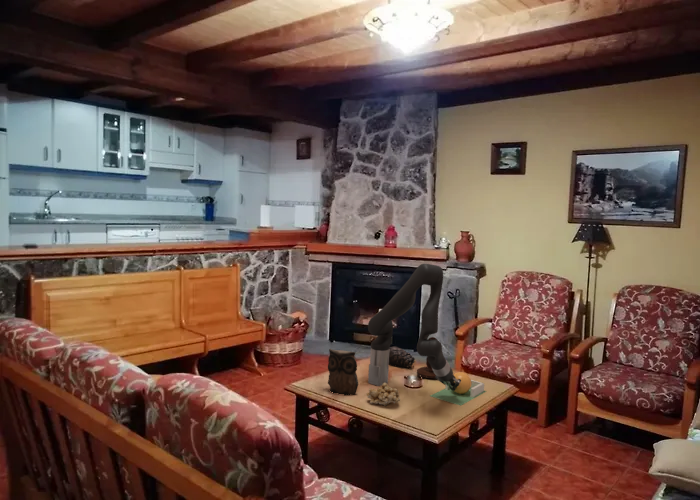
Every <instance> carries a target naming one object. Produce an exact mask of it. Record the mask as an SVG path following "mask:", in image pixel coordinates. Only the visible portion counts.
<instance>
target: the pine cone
mask: <svg viewBox="0 0 700 500" xmlns="http://www.w3.org/2000/svg"><path fill="white" fill-rule="evenodd" d="M415 360H416V358H415V357H414V356H413V355H411V353H410V352H407V351H406V350H405V349H403V348H401V347H398V346H390V350H389V366H391V367H392V366H393V367H395V368H399V369H404V370H413V368H412V367H411V366H413V364H414V363H415V362H416V361H415Z"/></svg>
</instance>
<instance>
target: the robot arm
mask: <svg viewBox="0 0 700 500" xmlns="http://www.w3.org/2000/svg"><path fill="white" fill-rule="evenodd" d="M443 282H444V270H443V268H442V267H441V266H440V265H437V264H431V263H430V264H429V263H421V264H419V265H418V266H417V267H416V269H415V270H414V271H413V272H412V274H411V275H410V277H409V279H408V280H407V281H406V282H405V283H404V284H403V285H402V287H401V288H400V289H398V291H397V292H396V293H395V294H394V295H393V296H392V298H391V299H390V300H389V301H388V302H387V303H386V305H384V306H383V307H382V308H381V309H380V310H379V311H378V312H377V313H376V314H374V315H373V316H372V317H371V318H370V319H369V321H368V324H367V329H368V332H369V333H370V334H371V335H372V336H375V337H376V336H377V337H376V338H375V339H374V340H373V341H371V344H370V356H369V358H370V359H369V364H368V376H367V377H368V378H367V379H368V381H367V383H368V384H370V385H372V386H376V387H379V386H382V384H383V383H387V385H388V383H389V370H390V369H389V366H390V365H389V350H390V348H391V344H392V340H393V332H394V331H393V329H394V327H393V325H394V324H393V320H395V319H398V318H399V317H401V316H403V315H404V314H405V313H406V312H408V311H409V310H410V309H412V307H413V306H414V304H415V302H416V297H417V295H416V294H417V292H418V290H419V289H420V288H421V287H423V286H430V288H429V289H430V293H429V297H428V300H427V302H426V303H425V305H424V307H423V309H422V312H421V324H420V325H421V326H420V327H421V329H420V333H419V338H418V341H417V344H416V351H417V353H418V355H419V356H421V357H426V358H427V359H428V362H429V364H430V365H431V367H432V369H433V371H434V373H435V375H436V377H435V378H434V379H436V380H437V381H439V383H441V384H443V385H447V386H449V388H450V389H451V390H452V391H455V390H456V387H457V386H459V384H460V382H461V380H460V379H456V378H455V376H454V375H453V374H454V372H453V371H454V370H453V369H452V367H451V366H450V363H449V362H448V360H447V359H446V358H445V355H444V353H443V345H442V344H443V343H442V342H441V341H439V340H438V339H437V340H431V339H429V338H430V336H431V335H435V334H437V333H438V332H439V309H440V308H439V307H440V300H441V295H442V288H443ZM427 356H428V357H427ZM454 381H455V382H454Z"/></svg>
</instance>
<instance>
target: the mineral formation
mask: <svg viewBox="0 0 700 500" xmlns="http://www.w3.org/2000/svg"><path fill="white" fill-rule="evenodd" d="M399 393H400V392H399V390H398V389H397V388H395V387H394V388H392V387H390V385H388V384H387V383H383V384H382V385H380V387H378V388H377V389H376V388H369V389H368V392H367V393H366V397H367V398H368V399H369V400H370V401H369V403H370V404H379V405H382V406H384V407H386V406H388V405H389V404H390V403H393V404H396V403H399V402H401V397H400V394H399Z"/></svg>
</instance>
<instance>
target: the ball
mask: <svg viewBox="0 0 700 500" xmlns="http://www.w3.org/2000/svg"><path fill="white" fill-rule="evenodd" d="M453 375H454V376H455V378H456V379H460V380H461V382H460V384H459V386H457V387H456V390H455V392H456V393H459V394H464V393H466V392H468V391H469V390H470V388H471V385H472V382H471V380H472V379H471V377H470V376H469V374H468V373H466V372H463V371H457V372H455V373H453ZM454 382H455V381H454Z"/></svg>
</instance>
